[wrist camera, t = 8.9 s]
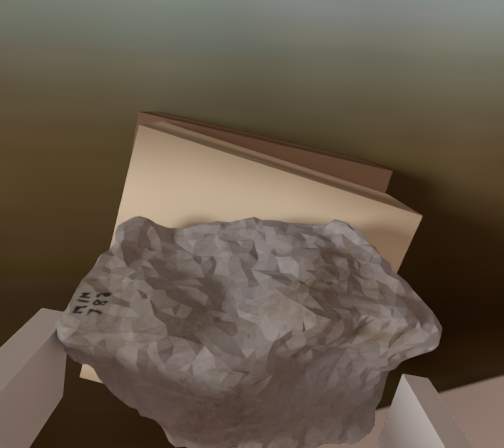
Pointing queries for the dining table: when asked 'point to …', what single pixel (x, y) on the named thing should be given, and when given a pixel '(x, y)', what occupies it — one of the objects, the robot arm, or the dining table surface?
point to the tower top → (249, 192)
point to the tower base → (285, 151)
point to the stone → (247, 330)
